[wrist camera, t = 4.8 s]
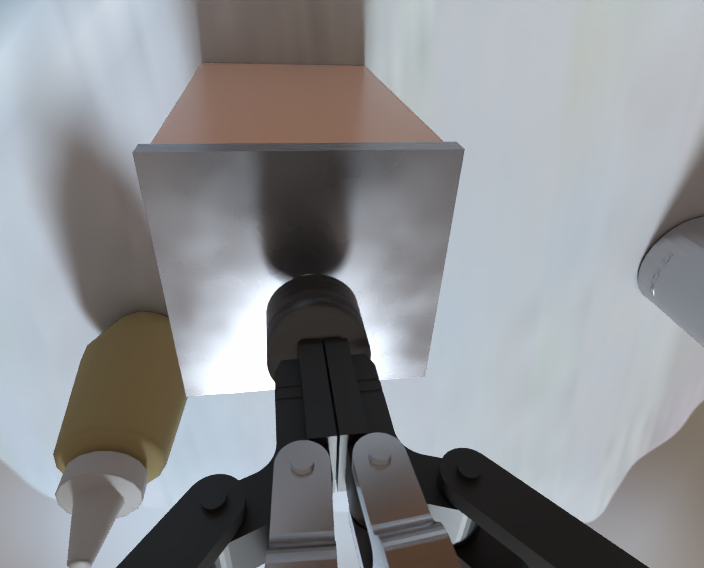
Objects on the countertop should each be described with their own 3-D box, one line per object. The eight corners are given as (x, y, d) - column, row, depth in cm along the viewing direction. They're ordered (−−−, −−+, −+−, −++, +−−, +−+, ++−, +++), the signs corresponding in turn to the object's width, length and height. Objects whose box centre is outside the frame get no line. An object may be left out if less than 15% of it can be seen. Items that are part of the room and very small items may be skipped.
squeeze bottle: (128, 280, 36) (34, 501, 21) (219, 329, 40) (193, 545, 25) (76, 346, 38) (-41, 584, 24) (165, 386, 42) (114, 612, 27)
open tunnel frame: (364, 65, 30) (444, 142, 17) (357, 210, 35) (413, 353, 22) (201, 62, 28) (149, 144, 15) (220, 214, 34) (194, 369, 21)
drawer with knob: (372, 66, 29) (518, 197, 12) (363, 221, 34) (454, 450, 18) (195, 63, 27) (92, 209, 11) (216, 226, 33) (170, 482, 16)
